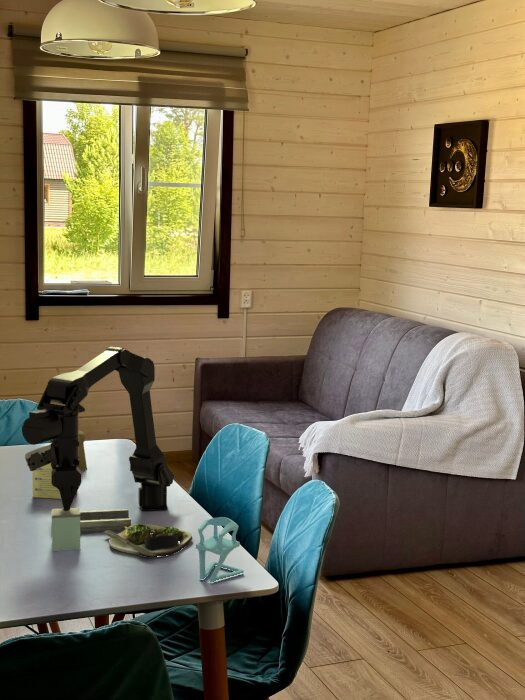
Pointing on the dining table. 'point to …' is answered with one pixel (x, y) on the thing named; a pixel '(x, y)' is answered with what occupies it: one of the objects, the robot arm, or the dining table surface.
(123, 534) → the salad plate
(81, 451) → the cork
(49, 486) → the box
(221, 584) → the dining table surface
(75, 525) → the module
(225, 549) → the chair
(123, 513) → the rail
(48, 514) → the dining table surface
